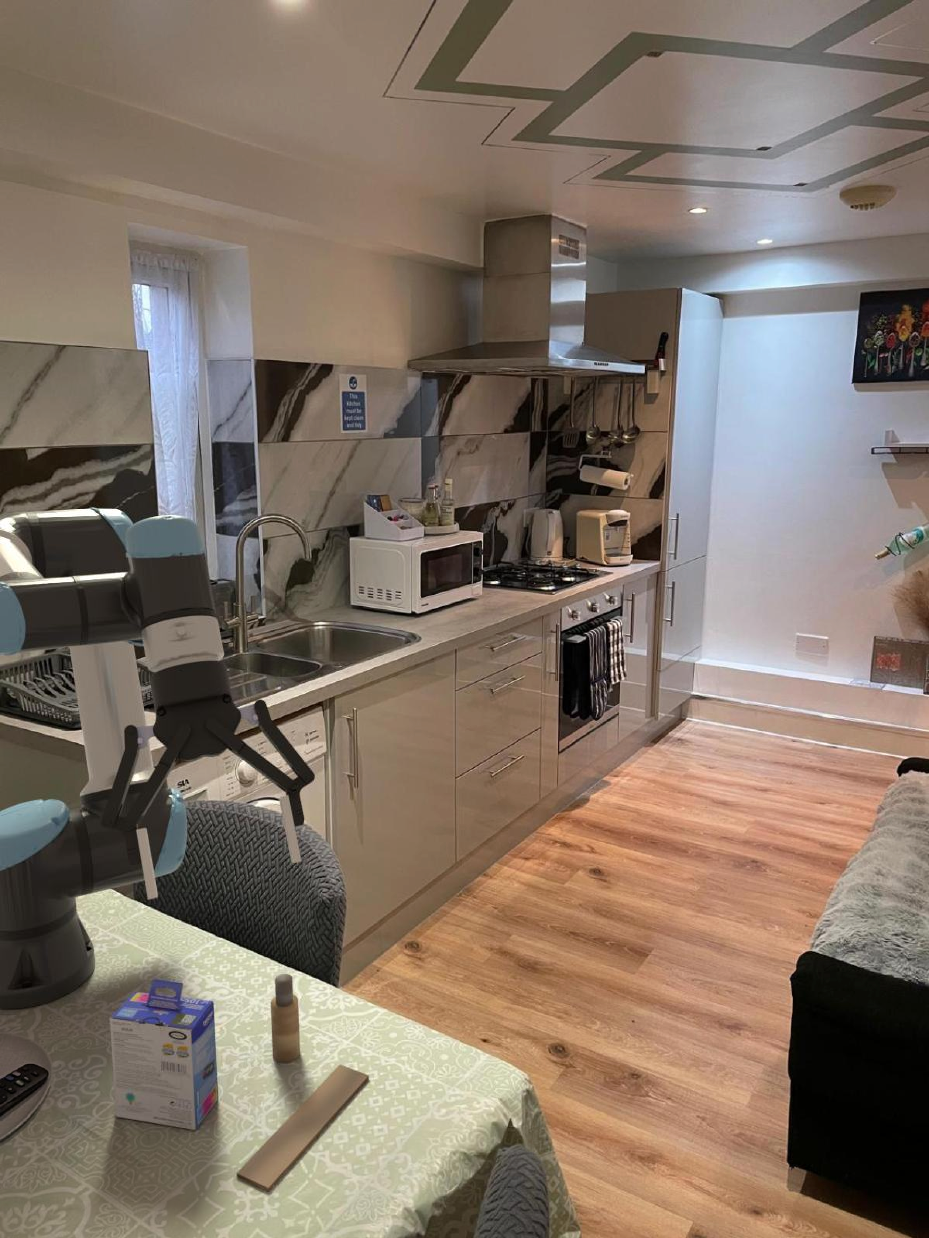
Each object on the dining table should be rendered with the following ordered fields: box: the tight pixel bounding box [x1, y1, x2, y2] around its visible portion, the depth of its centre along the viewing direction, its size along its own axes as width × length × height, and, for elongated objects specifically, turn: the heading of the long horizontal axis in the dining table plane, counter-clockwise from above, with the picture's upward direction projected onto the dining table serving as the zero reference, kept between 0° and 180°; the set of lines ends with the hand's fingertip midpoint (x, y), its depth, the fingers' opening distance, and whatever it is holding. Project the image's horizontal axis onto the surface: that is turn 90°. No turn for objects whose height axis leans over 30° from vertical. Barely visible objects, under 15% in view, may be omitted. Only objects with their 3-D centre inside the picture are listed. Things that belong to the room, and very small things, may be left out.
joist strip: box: [236, 1064, 370, 1192], centre depth 99 cm, size 4×18×1 cm, turn 153°
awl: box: [270, 973, 301, 1064], centre depth 109 cm, size 3×3×10 cm
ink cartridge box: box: [109, 978, 219, 1131], centre depth 100 cm, size 10×6×14 cm, turn 78°
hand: (226, 880), depth 89 cm, fingers open, 13 cm apart
